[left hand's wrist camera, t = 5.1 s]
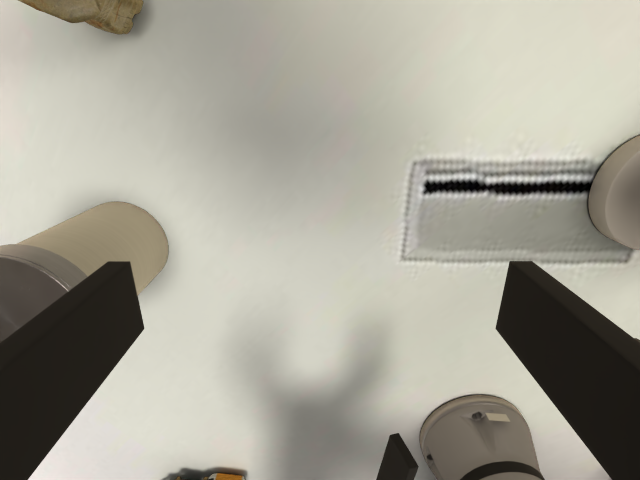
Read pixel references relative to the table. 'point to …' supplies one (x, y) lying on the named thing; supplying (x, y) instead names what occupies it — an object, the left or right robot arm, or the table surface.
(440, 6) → the table surface
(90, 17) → the sculpture
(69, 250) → the jar
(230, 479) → the spray gun
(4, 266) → the lid
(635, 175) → the bust sculpture
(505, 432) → the right robot arm
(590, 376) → the left robot arm
